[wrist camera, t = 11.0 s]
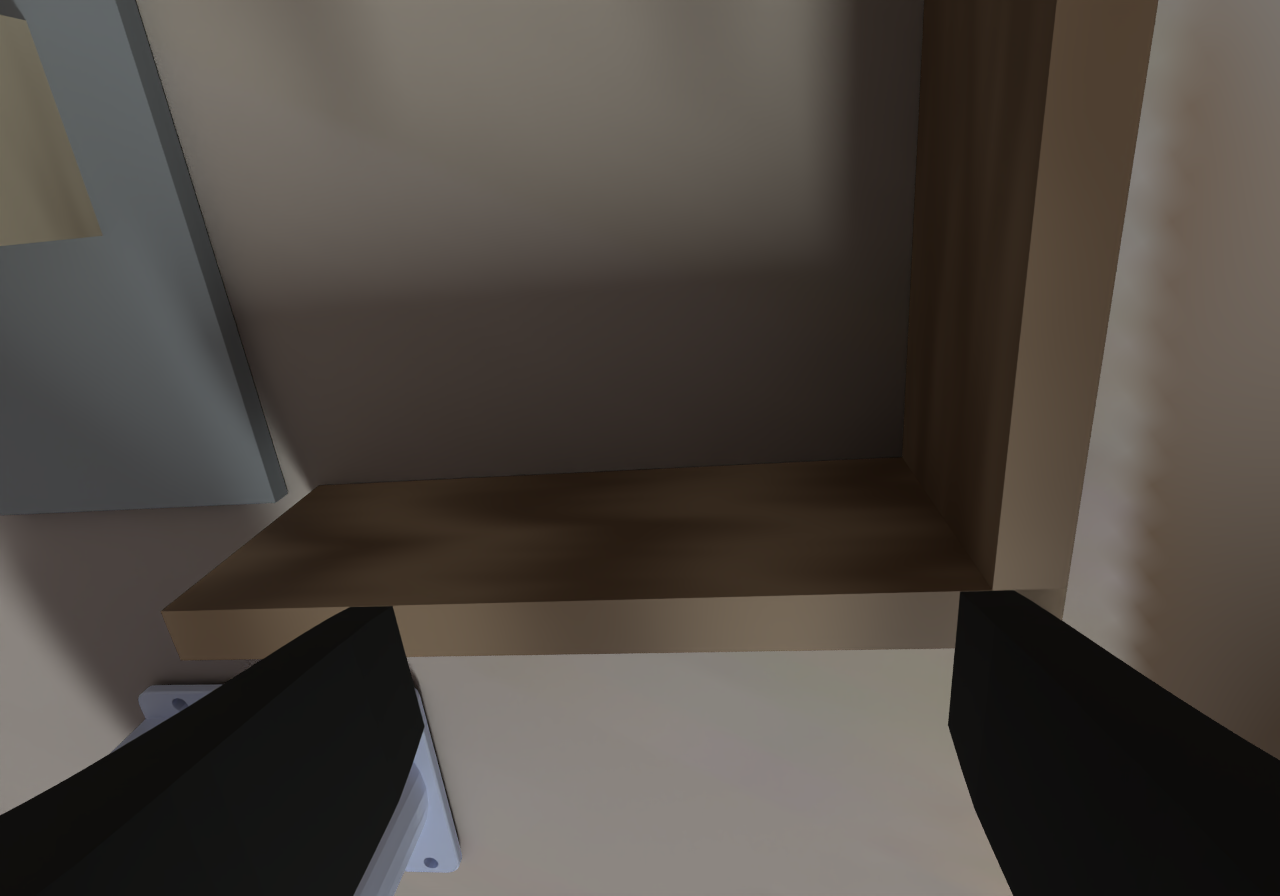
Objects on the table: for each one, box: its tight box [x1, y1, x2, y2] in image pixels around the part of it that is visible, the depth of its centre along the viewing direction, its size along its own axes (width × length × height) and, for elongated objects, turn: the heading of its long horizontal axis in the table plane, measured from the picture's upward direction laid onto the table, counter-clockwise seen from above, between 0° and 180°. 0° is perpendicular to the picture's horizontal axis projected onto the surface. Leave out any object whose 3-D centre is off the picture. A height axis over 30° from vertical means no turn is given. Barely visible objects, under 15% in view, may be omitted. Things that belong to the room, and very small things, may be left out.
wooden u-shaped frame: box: [161, 0, 1158, 660], centre depth 12 cm, size 17×21×6 cm
